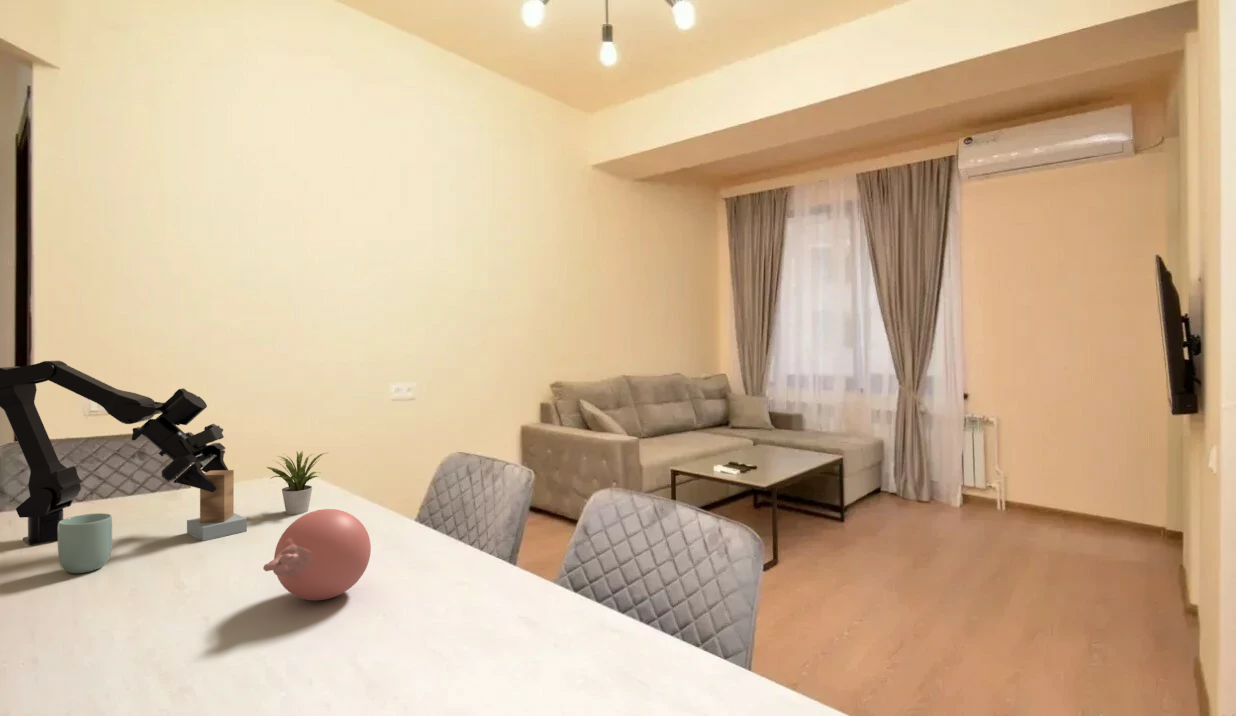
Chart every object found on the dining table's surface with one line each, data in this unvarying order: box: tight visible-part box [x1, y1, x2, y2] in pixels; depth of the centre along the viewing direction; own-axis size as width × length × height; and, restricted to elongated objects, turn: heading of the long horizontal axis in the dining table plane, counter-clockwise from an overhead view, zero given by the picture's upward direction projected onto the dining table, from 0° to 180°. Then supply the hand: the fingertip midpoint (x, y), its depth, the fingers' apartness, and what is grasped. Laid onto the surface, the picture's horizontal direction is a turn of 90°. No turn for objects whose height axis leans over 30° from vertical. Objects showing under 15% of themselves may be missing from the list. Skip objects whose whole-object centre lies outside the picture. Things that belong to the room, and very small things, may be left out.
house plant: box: [266, 450, 330, 515], centre depth 159 cm, size 14×14×16 cm
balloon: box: [262, 508, 372, 601], centre depth 105 cm, size 15×20×15 cm
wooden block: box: [199, 469, 235, 523], centre depth 140 cm, size 5×5×11 cm
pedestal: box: [186, 513, 248, 542], centre depth 141 cm, size 9×9×3 cm
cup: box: [57, 512, 113, 574], centre depth 117 cm, size 8×8×10 cm
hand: (223, 485), depth 141 cm, fingers open, 9 cm apart
